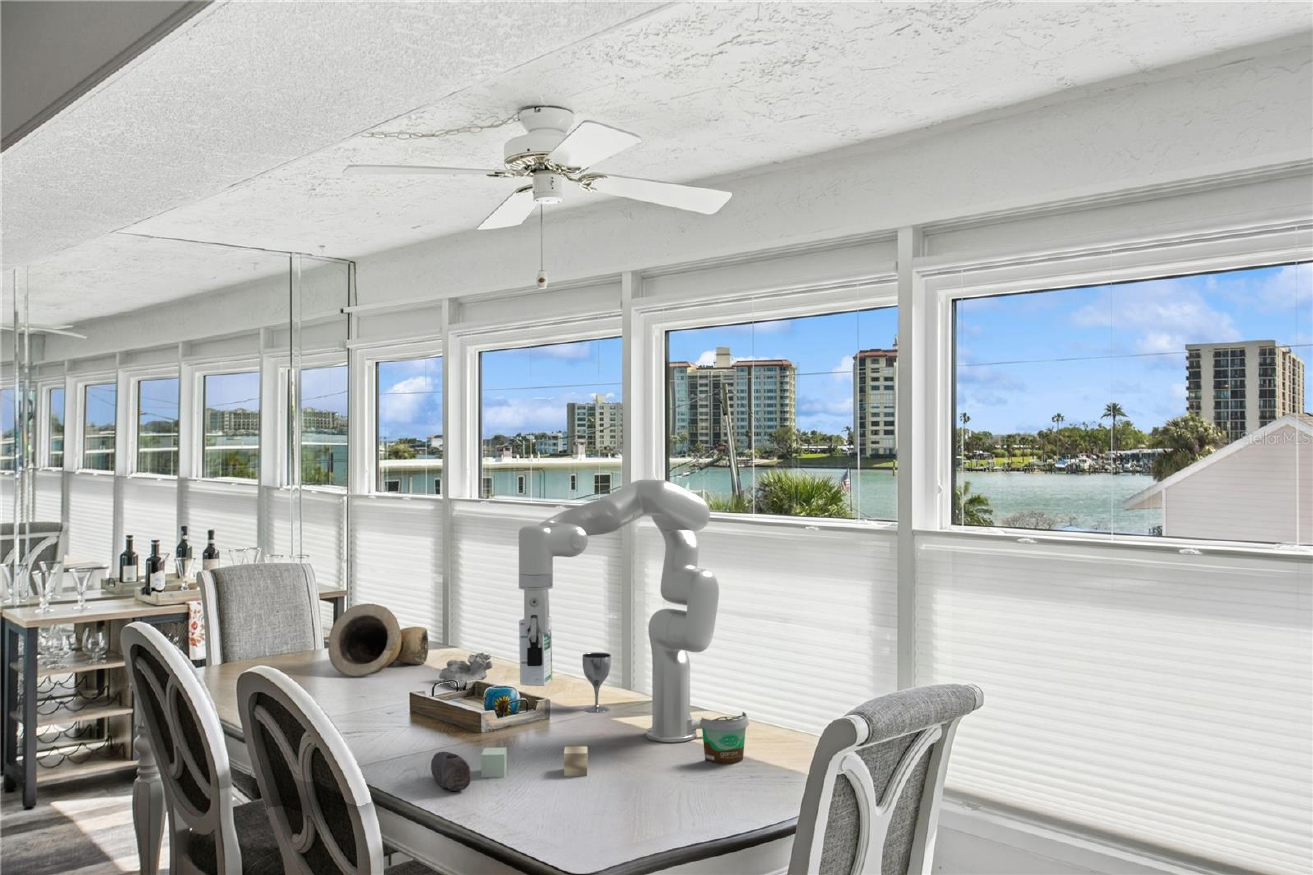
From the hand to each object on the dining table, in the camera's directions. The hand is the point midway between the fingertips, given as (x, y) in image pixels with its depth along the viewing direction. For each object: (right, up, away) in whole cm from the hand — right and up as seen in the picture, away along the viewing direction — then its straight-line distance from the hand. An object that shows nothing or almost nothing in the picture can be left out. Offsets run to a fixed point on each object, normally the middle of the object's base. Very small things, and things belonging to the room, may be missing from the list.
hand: (535, 661), depth 214 cm
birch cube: (+9, -25, 0) cm, 26 cm away
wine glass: (+10, -26, +54) cm, 61 cm away
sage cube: (-9, -25, -1) cm, 26 cm away
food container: (+43, -25, +8) cm, 51 cm away
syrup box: (0, -5, 0) cm, 5 cm away
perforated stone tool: (-18, -25, -9) cm, 31 cm away
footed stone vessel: (-66, -28, +108) cm, 129 cm away
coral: (-33, -27, +84) cm, 94 cm away
